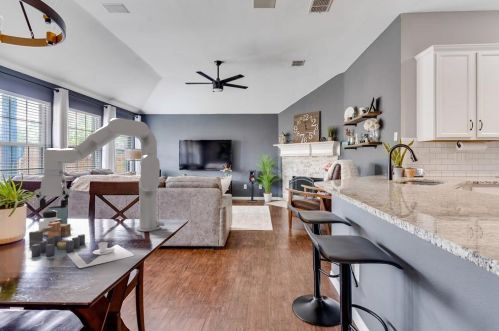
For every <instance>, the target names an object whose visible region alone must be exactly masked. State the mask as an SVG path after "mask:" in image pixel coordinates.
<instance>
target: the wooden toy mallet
mask: <svg viewBox="0 0 499 331" xmlns="http://www.w3.org/2000/svg"><path fill="white" fill-rule="evenodd" d="M71 230H72V229H71V223H67V224H61V222H52V223H49V224H48V227H45V228H43V229H40V230H39V229H38V230H35V231H29V232H28V236H29V238H28V242H29V244H28V245H29V248H31V246H32V245H35V244H39V242H41V241H44V235H43V233H45V232H47V231H48V235H47V237H48V238H53V236H55V235H61V237H68V236H69V235H71V234H72V233H71V232H72V231H71ZM48 238H47V239H48Z"/></svg>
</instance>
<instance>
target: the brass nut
mask: <svg viewBox="0 0 499 331" xmlns="http://www.w3.org/2000/svg"><path fill="white" fill-rule="evenodd" d="M66 241H69V240H68V239H63V240H61V241H58V242H57V250H65V249H66Z"/></svg>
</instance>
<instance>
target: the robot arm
mask: <svg viewBox="0 0 499 331" xmlns="http://www.w3.org/2000/svg"><path fill="white" fill-rule="evenodd" d="M120 136H127V137H133V138H136V139H138V141H139V142H140V161H139V163H140V178H139V179H138V194H139V195H138V196H139V197H138V198H139V202H138V205H139V207H138V208H139V209H138V210H139V212H138V214H139V216H138V217H139V219H138V221H139V226H136V231H138V232H153V231H157V230H159V229H160V228H161V227H164V226H165V224H166V223H165V222H164V221H160V219H158V190H157V189H158V187H159V186H160V185H159V184H160V174H161V173H160V169H161V168H160V165H161V164H160V159H159V158H158V143H157V138H156V136H155V134H154V132H153V131H152V130H150V127H149V125H148V124H147V123H146V122H143V121H139V120H133V119H125V118H122V117H121V118H119V117H115V118H114V117H113V118H111V119H110V120H109V121H108V123H106V124H105V125H103V126H101V127H100V128H99V129H97V130H95V131H93V132H91V133H90V134H89V135H88V137H87V138H86V139H85V140H84V141H81V142H80V143H79V144H78V145H75V146H74V147H73V148H62V149H61V148H46V149H44V151H43V152H44V153H43V155H44V156H43V175H42V177H41V181H40V182H41V183H40V188H38V189H36V190H34V194H35V197H36V198H37V199H38V201H39V208H40V209H44V208H47V199H46V198H47V197H59V198H60V199H61V200H60V206H61V208H65V207H66V206H68V205H67V202H68V201H67V200H68V199H69V198H70V197H71V195H72V193H73V190H71V189H69V188H67V182H66V177H65V174H66V171H64V168H63V167H64V164H70V165H71V164H73V165H74V164H76V163H79V162H81V161H83V160H84V159H86V158H87V157H89V156H90V155H92V154H93V153H95V152H97V151H98V150H101V149H102V148H103V147H105V146H106V145H108V144H109V143H111V142H112V141H114V140H115V139H117V138H119V137H120Z"/></svg>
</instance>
